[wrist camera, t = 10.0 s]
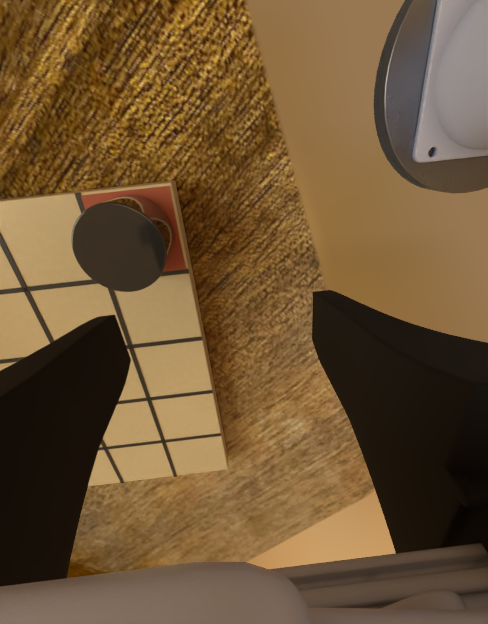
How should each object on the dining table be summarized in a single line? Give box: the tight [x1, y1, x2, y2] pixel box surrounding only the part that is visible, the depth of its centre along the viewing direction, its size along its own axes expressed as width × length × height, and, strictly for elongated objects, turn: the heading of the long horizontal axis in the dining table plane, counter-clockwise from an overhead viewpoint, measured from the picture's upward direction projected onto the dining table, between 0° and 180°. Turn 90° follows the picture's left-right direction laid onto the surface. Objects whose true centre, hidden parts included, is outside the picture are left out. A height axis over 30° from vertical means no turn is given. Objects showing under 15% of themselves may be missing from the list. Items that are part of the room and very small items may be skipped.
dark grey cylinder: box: [71, 194, 175, 292], centre depth 15 cm, size 4×4×3 cm
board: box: [0, 180, 228, 486], centre depth 22 cm, size 20×25×2 cm
